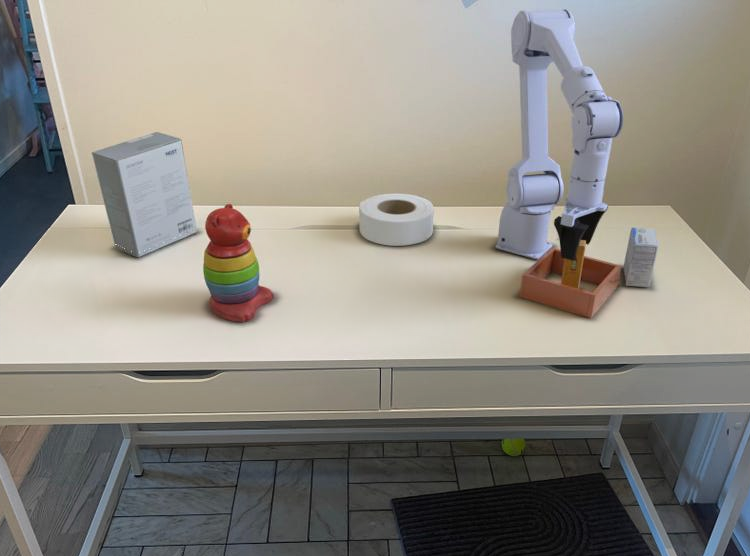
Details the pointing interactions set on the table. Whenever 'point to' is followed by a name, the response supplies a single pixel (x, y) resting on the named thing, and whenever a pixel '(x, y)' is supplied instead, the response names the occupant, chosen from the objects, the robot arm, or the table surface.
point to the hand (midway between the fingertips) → (575, 250)
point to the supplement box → (574, 267)
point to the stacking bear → (232, 267)
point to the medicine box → (640, 257)
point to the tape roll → (396, 219)
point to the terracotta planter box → (567, 295)
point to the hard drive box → (146, 192)
